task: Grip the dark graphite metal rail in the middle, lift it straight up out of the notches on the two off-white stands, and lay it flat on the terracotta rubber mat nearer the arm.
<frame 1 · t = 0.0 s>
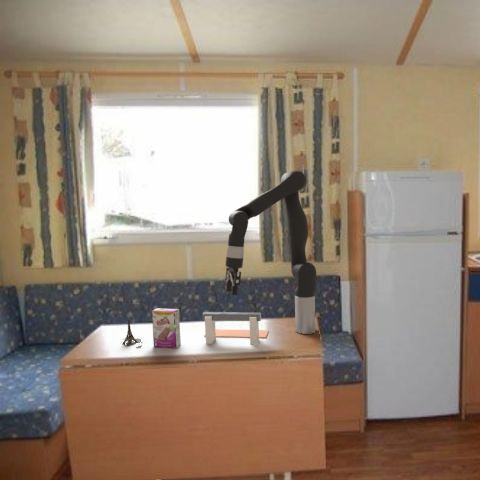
hand: (231, 292, 180), 22 cm above the table, tool pointing down, fingers open, 8 cm apart
eiffel tower figurine: (131, 345, 186), on the table
mat: (236, 334, 193), on the table
candy bar box: (167, 346, 180), on the table
stands: (232, 341, 183), on the table
rail: (231, 319, 182), point 10 cm above the table, touching stands
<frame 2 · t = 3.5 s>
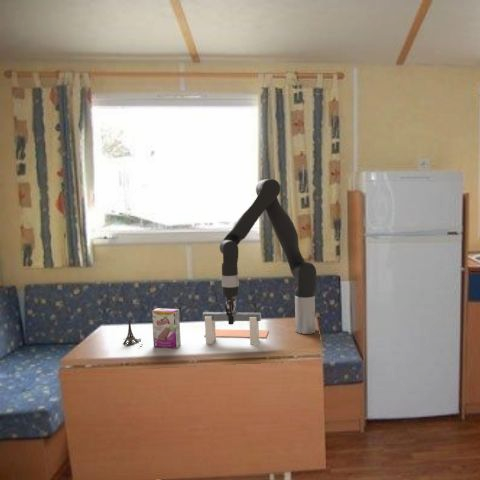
hand: (231, 322, 182), 9 cm above the table, tool pointing down, fingers closed on rail, 3 cm apart
rail: (231, 319, 182), point 10 cm above the table, touching gripper, stands
everything else where it was.
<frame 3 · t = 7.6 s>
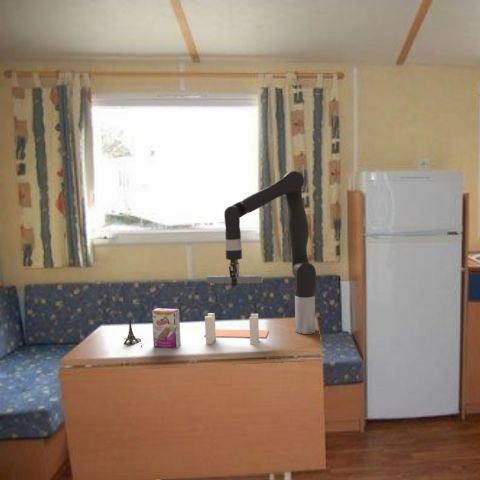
hand: (235, 285, 191), 23 cm above the table, tool pointing down, fingers closed on rail, 3 cm apart
rail: (234, 282, 191), point 25 cm above the table, touching gripper
everything else where it was.
when the fingers open (1 cm above the table, at t = 11.5 s): rail drops 2 cm, resting on mat.
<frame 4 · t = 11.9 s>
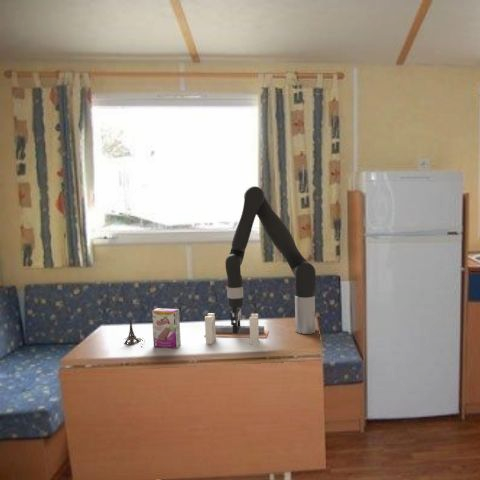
hand: (236, 330, 193), 2 cm above the table, tool pointing down, fingers open, 6 cm apart
rail: (236, 332, 193), resting on mat
everything else where it was.
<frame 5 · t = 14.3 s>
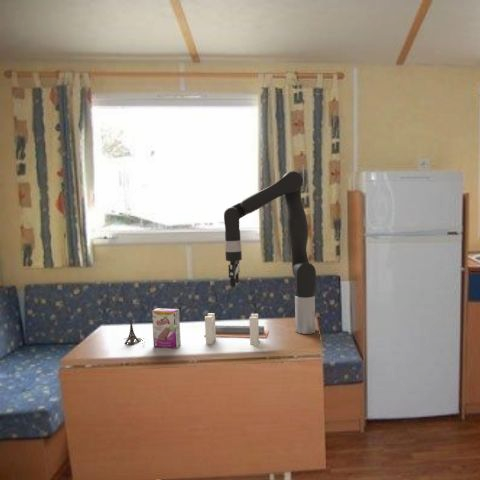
hand: (234, 284, 191), 24 cm above the table, tool pointing down, fingers open, 8 cm apart
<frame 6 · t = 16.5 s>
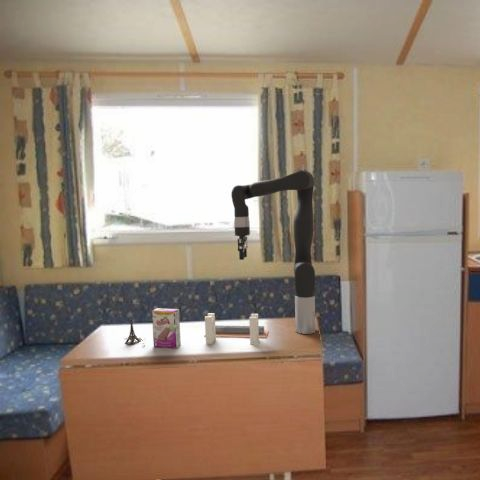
hand: (243, 258, 203), 34 cm above the table, tool pointing down, fingers open, 8 cm apart
at the end: rail inside the target area on the mat (0.0 cm from its centre), point 0.5 cm above the mat's base; rail tilted 0°; the gripper is holding nothing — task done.
